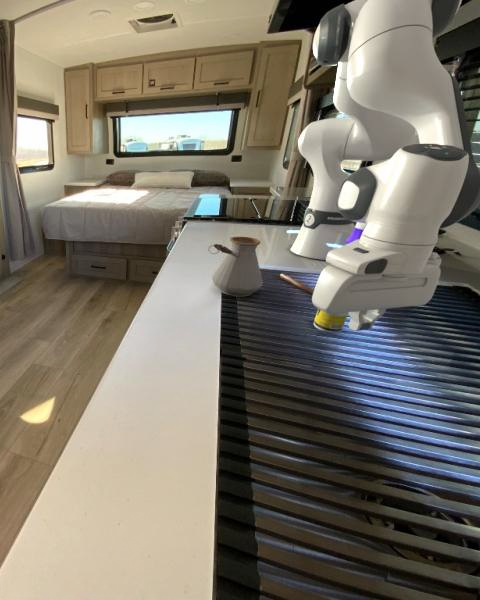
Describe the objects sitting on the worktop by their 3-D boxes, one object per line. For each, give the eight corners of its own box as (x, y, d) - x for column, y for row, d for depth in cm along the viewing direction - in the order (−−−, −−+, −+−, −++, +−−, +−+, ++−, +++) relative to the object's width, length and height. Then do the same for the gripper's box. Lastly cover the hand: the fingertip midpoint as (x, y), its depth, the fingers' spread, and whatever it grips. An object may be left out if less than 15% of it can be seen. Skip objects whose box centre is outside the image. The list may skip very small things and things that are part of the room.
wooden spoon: (272, 277, 90) (273, 273, 89) (287, 276, 90) (288, 272, 90) (322, 305, 75) (323, 300, 74) (339, 303, 75) (341, 299, 75)
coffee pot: (223, 277, 90) (234, 222, 83) (267, 290, 82) (283, 230, 75) (179, 302, 77) (188, 239, 70) (227, 319, 69) (242, 251, 63)
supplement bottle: (317, 319, 69) (330, 282, 65) (344, 328, 66) (360, 289, 62) (309, 327, 66) (322, 288, 62) (336, 336, 63) (352, 297, 59)
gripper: (424, 246, 57) (391, 315, 64) (318, 252, 55) (295, 324, 61) (467, 257, 52) (427, 332, 58) (351, 265, 49) (323, 343, 55)
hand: (359, 328), depth 59 cm, fingers closed
